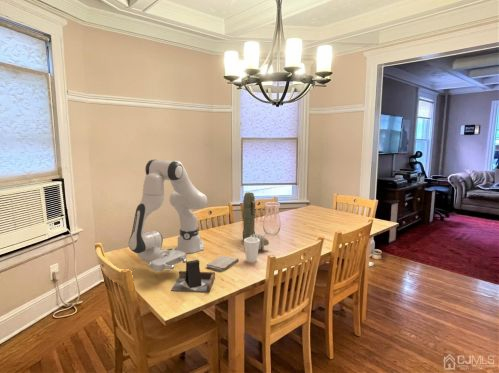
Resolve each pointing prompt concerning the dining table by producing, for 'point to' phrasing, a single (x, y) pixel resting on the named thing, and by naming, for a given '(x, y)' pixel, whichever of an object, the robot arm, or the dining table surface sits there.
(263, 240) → the toy sheep
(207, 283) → the tray
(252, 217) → the green cactus
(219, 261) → the washcloth
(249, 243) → the foam cup
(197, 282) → the door stopper
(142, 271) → the dining table surface
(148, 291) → the dining table surface
